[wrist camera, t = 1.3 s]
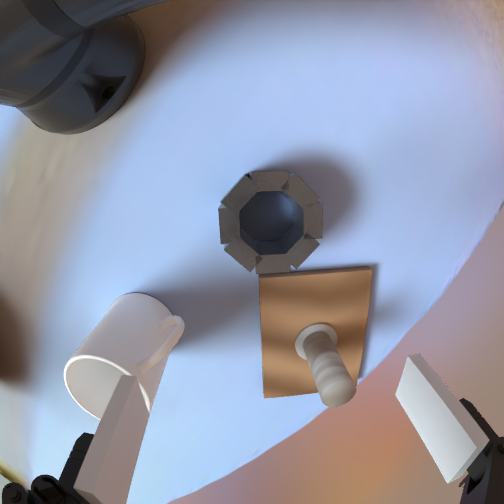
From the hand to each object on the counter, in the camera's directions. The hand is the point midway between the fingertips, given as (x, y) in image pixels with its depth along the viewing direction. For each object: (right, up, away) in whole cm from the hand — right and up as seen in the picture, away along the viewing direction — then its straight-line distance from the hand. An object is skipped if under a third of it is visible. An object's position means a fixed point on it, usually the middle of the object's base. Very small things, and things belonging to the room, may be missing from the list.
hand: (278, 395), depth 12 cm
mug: (-12, -1, +19) cm, 22 cm away
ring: (0, +10, +16) cm, 19 cm away
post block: (+6, -3, +20) cm, 21 cm away
